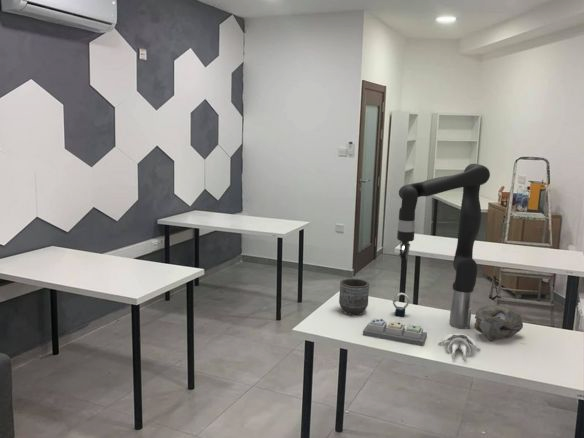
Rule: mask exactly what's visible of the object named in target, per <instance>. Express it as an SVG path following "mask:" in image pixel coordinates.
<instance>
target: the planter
mask: <svg viewBox="0 0 584 438" xmlns="http://www.w3.org/2000/svg"><path fill="white" fill-rule="evenodd" d="M369 292H370V283H369V281H367V280H365V279H362V278H351V277H350V278H348V277H347V278H343V279H341V280H340V283H339V295H338V296H339V299H338V302H339V305H340V307H341V310H342V311H343V313H345V314H348V315H351V316H352V315H353V316H357V315H358V316H359V315H362V314H363V313H364V312H365V310H366V309H367V307H368V306H369V294H370V293H369Z"/></svg>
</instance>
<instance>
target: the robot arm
mask: <svg viewBox="0 0 584 438" xmlns="http://www.w3.org/2000/svg"><path fill="white" fill-rule="evenodd" d="M490 177H491V173H490V169H488V167H487V166H485V165H483V164H478V163H470V164H467V166H465V169H464V171H463V172H459V173H457V174H456V173H455V174H452V175H445V176H444V175H443V176H438V177H434V178H430V179H427V180H424V181H421V182H420V181H419V182H414V183H408V184H405V185H403V186H401V187H400V189H399V190H398V195H399V198H400V199H401V205H400V206H401V207H399V209H398V211H399V212H398V222H397V233H396V234H397V235H396V239H397V240H398V241H401V243H400V244H399V248H400V249H399V254H400V255H399V256H400V259H401V265H400V266H401V267H402V268H406V267H407V264H408V258H409V253H410V247H411V243H410V242H413V241H415V231H416V230H415V227H416V223H415V222H416V221H415V219H416V208H417V204H418V198H420V197H431V196H434V195H439V194H441V193H445V192H448V191H452V190H456V189H460V188H462V199H461V205H460V206H461V207H460V211H459V213H460V214H459V220H458V229H457V231H458V232H457V244H456V249H455V254H454V257H453V264H452V265H453V268H454V270H455V279H454V282H453V283H452V290H451V291H452V292H451V300H450V311H449V312H450V313H449V322H448V324H449V325H450V326H452V327H453V328H457V329H470V327H471V318H472V312H473V310H472V309H473V299H474V297H473V296H474V288H475V286H476V282H477V275H478V265H477V262H476V260H474V257H473V254H474V253H473V252H474V251H473V250H474V244H475V242H476V239H477V237H478V235H479V231H480V228H481V223H482V209H481V202H480V189H481V186H483V185H485V184H486V183H487V182H488V181H489V179H490Z"/></svg>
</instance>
